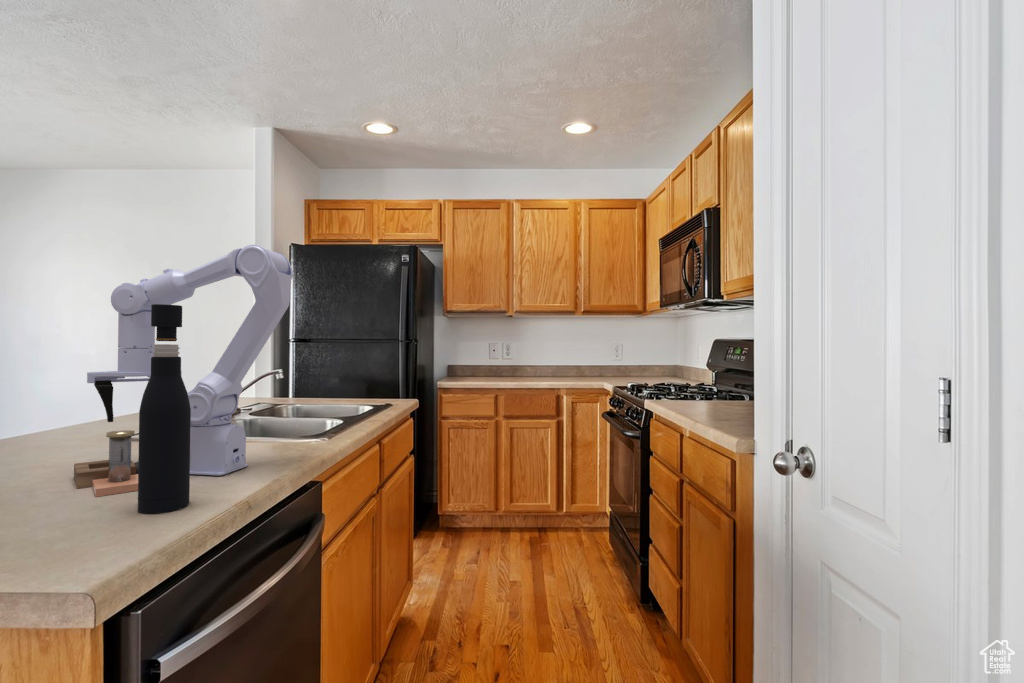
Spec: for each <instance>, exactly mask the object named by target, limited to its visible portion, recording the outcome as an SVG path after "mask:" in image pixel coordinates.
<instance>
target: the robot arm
mask: <svg viewBox="0 0 1024 683" xmlns="http://www.w3.org/2000/svg"><path fill="white" fill-rule="evenodd" d="M162 272H163V273H162V274H159V275H156V276H155V277H151V278H143V279H142V278H141V279H139V283H138V284H135V283H130V282H123V283H121V284H120V285H118V286H116V288H114V289H113V291H112V293H111V295H110V303H111V306H112V308H113V309H114V311H116V312H117V314H118V316H117V317H118V321H117V322H118V323H117V324H118V326H117V328H118V329H117V370H115V371H91V372H90V371H87V372H86V382H87V383H86V384H93V386H94V387H95V389H96V390H97V393H98V395H99V396H100V399H101V402H102V404H103V406H104V409H105V414H106V419H107V423H114V409H113V401H114V400H113V399H114V385H113V383H129V382H148V381H149V379H150V376H151V358H152V357H154V354H153V352H154V349H153V347H154V344H156V342H155V341H156V327H152V326H151V305H153V304H165V305H175V304H177V303H179V302H181V301H184V300H187V299H190V298H192V297H193V295H194V293H195V291H196V289H198V288H201V287H204V286H207V285H211V284H213V283H217V282H220V281H223V280H226V279H229V278H233V277H242V278H244V280H245V281H246V282H247V283H248V285H249V286H250V287H251V291H252V293H253V296H254V299H255V303H254V304H253V306H252V307H251V308H250V310H249V312H248V314H247V315H246V317H245V319H244V320H243V322H242V323H241V324H240V326H239V327H238V330H237V331H236V332H235V334H234V336H233V338H232V339H231V340H230V342H229V344H228V345H227V346H226V349H225V350H224V352H223V354H222V355H221V356H220V357H219V359H218V361H217V363H216V365H215V366H214V368H213V369H212V370H211V371H210V372H209V374H207V375H205V377H203V378H202V379H200V380H199V381H198V382H197V383H196V385H195V387H194V388H193V389H192V390H190V391H187V393H188V398H189V402H190V408H191V423H190V475H198V476H199V475H200V476H201V475H202V476H203V475H204V476H224V475H228V474H230V473H232V472H235V471H238V470H241V469H243V468H247V467H248V466H249V463H246V458H247V457H246V453H247V452H246V451H247V450H246V449H247V448H246V446H247V436H246V430H245V429H244V427H243V426H241V425H239V424H234V423H232V418H233V417H232V415H233V414H234V413H235V412H236V411H237V409H238V406H239V399H240V395H241V394H242V392H243V391H244V390H243V389H244V388H243V385H242V382H243V380H244V378H245V377H246V375H247V374H248V372H249V370H250V369H251V367H252V366H253V364H254V362H255V360H256V359H257V358H258V356H259V354H260V352H261V351H262V350H263V348H264V347H265V345H266V343H267V342H268V340H269V339H270V337H271V335H272V334H273V332H274V331H275V329H276V328H277V326H278V325H279V323H280V321H281V320H282V318H283V316H284V314H285V313H286V311H287V310H288V308H289V306H290V301H291V283H292V279H293V278H294V275H295V273H294V270H293V268H292V265H291V263H290V261H289V259H288V257H286V256H285V255H284V254H283V253H281V252H276V251H274V250H270V249H269V248H268V249H267V248H265V247H264V246H262V245H260V244H249V245H246V246H244V247H242V248H241V247H239V248H235V249H233V250H232V251H230V252H228V253H227V254H225V255H223V256H221V257H217V258H216V259H214V260H212V261H208V262H207V263H205V264H202V265H200V266H198V267H195V268H193V269H191V270H188V271H186V272H185V271H183V270H181V269H178V268H177V269H173V268H166V269H164V270H163V271H162ZM181 375H182V370H181ZM127 377H129V378H127ZM130 377H131V378H130ZM132 377H133V378H132ZM134 377H136V378H134ZM137 377H143V378H137ZM144 377H147V378H144Z"/></svg>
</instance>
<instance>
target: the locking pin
mask: <svg viewBox="0 0 1024 683" xmlns="http://www.w3.org/2000/svg"><path fill="white" fill-rule="evenodd" d="M135 433H136V432H135V430H131V429H130V430H129V429H127V430H126V429H125V430H123V429H122V430H113V431H107V432H106V434H105V436H106V438H108V441H109V442H108V460H109V473H108V482H122V481H127V480H130V479H131V460H132V436H135Z"/></svg>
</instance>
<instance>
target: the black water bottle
mask: <svg viewBox="0 0 1024 683" xmlns="http://www.w3.org/2000/svg"><path fill="white" fill-rule="evenodd" d="M151 326H152V327H155V328H156V337H155V341H156V342H177V340H178V338H177V336H178V335H177V333H178V332H177V329H178V328H183V306H182V305H179V304H171V305H165V304H153V305H151ZM153 349H154V352H153V354H154V357H152V358H151V376H150V379H149V381H147V383H146V387H145V389H144V391H143V394H142V398H141V402H140V406H139V411H138V462H139V464H138V491H137V493H138V494H137V512H139V513H141V514H147V515H149V514H150V515H152V514H153V515H155V514H164V513H171V512H174V511H175V512H176V511H179V510H181V509H184V508H187V507H188V506H189V505H190V486H191V485H190V476H191V474H190V423H191V408H190V402H189V398H188V391H187V388H186V386H185V383H184V380H183V377H182V374H181V371H182V357H181V356H179V354H180V352H179V350H180V349H181V347H179V344H158V343H155V344H154V347H153Z"/></svg>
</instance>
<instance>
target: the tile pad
mask: <svg viewBox="0 0 1024 683" xmlns="http://www.w3.org/2000/svg"><path fill="white" fill-rule="evenodd" d="M91 488H92V490H93V493H94V496H95V497H102V496H103V497H104V496H110V495H111V496H112V495H116V494H125V493H130V492H138V474H135V475H131V479H130V480H127V481H122V482H108V478H104V479H97V480H92V487H91Z"/></svg>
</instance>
